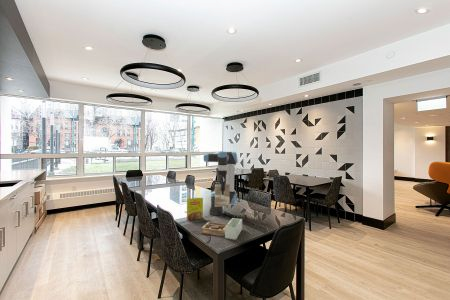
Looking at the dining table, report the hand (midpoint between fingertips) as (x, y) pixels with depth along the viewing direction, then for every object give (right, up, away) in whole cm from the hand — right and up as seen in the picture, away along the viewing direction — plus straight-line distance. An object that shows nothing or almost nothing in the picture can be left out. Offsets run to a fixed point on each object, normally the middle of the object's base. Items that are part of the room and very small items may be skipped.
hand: (222, 198), depth 177 cm
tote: (+10, -27, -6) cm, 29 cm away
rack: (-6, -27, -1) cm, 28 cm away
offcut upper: (-6, -25, -2) cm, 26 cm away
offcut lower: (-6, -28, -2) cm, 28 cm away
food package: (-27, -26, +28) cm, 47 cm away
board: (0, -7, 0) cm, 7 cm away
